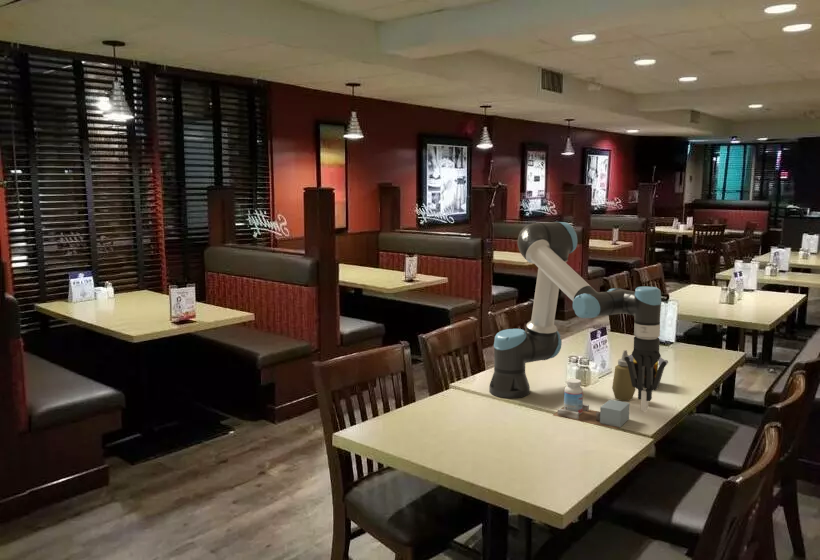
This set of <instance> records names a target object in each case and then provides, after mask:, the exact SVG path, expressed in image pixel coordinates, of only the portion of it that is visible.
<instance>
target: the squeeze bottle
mask: <svg viewBox="0 0 820 560" xmlns="http://www.w3.org/2000/svg"><path fill="white" fill-rule="evenodd" d="M628 355H629V354H628V350H626V349H624V350H623V352H622V356H621V358H619V359H618V360H617V365H616V366H615V367H614V374H613V382H612V387H611V388H612V391H613V396H614V398H615V399H616V400H617V401H622V402H629V401H632V400H633V397H634V396H635V392H636V388H635V387H633V386H632V383H631V378H630V373H629V369H628V364H627V363H626V361H625V359H624V358H625V357H626V356H628Z"/></svg>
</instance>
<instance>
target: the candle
mask: <svg viewBox="0 0 820 560" xmlns="http://www.w3.org/2000/svg"><path fill="white" fill-rule="evenodd" d="M633 358H634V357H633ZM633 362H634V366H635V371H636V375H637V380H638V363H637V362H636V360H635V359H634V360H633ZM658 368H659V361H657V362H656V363H655V365H654V367H653V384H654V381H655V377H656V374H657V371H658ZM646 382H647V370H646V366H645V371H644V386H645V387H644V388H643V389H646Z"/></svg>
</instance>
